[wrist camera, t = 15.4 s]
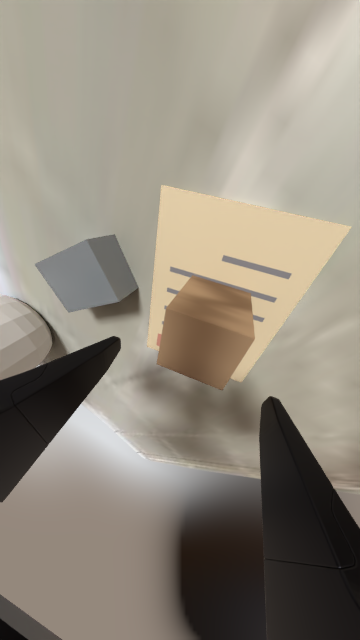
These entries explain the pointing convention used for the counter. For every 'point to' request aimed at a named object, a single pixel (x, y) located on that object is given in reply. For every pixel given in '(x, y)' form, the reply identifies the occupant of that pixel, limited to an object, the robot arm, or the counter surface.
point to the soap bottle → (21, 337)
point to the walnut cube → (206, 331)
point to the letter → (238, 258)
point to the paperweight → (89, 274)
